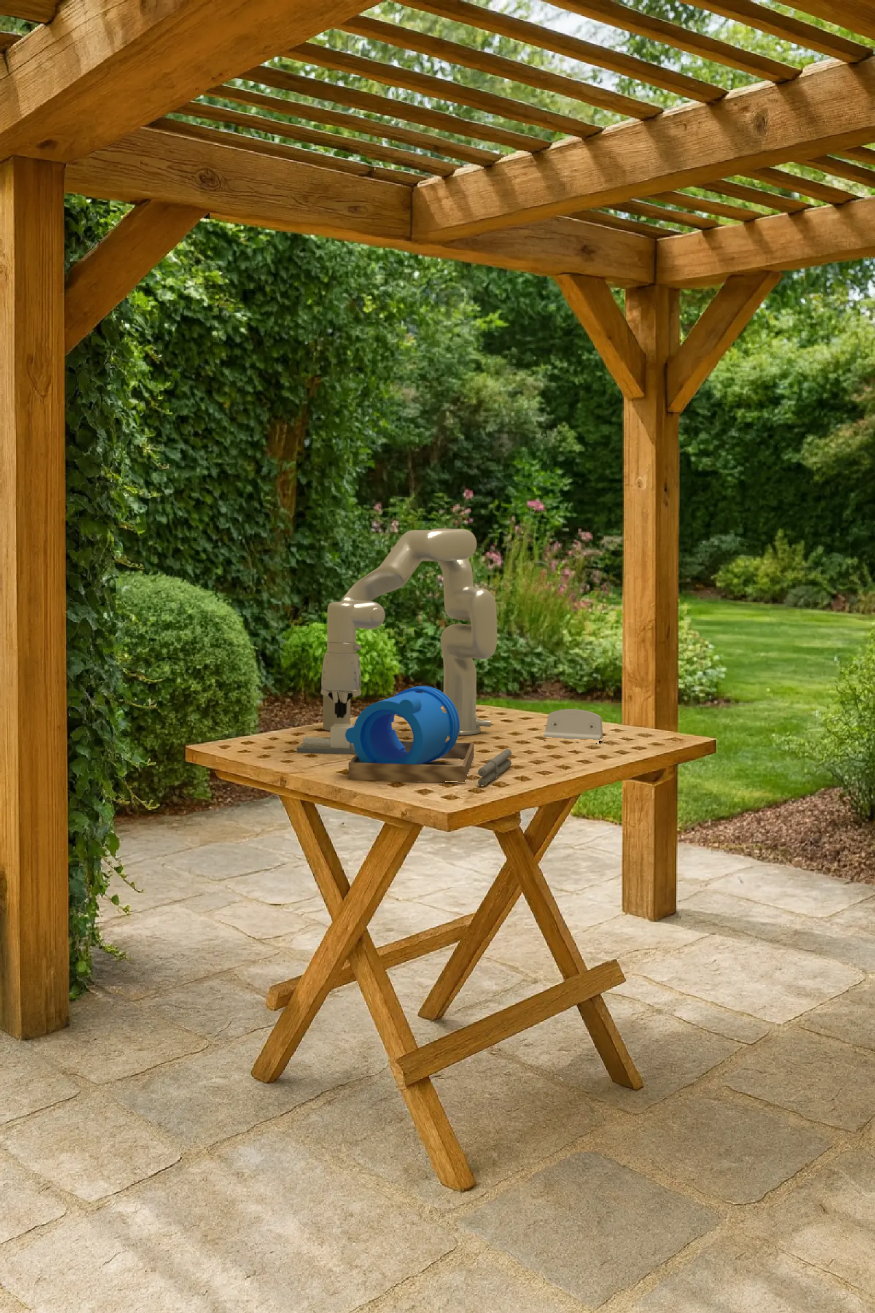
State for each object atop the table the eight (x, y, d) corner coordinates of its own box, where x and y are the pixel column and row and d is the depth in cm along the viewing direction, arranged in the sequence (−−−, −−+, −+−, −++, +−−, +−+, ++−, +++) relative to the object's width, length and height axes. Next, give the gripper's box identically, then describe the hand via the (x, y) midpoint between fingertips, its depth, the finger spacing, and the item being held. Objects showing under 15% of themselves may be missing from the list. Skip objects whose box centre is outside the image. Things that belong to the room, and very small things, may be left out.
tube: (433, 779, 310) (373, 736, 314) (476, 709, 304) (414, 667, 309) (397, 799, 287) (333, 752, 291) (443, 724, 281) (377, 678, 285)
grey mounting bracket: (541, 740, 341) (545, 706, 344) (545, 743, 346) (548, 709, 348) (600, 744, 336) (603, 709, 339) (603, 747, 341) (606, 712, 343)
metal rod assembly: (502, 767, 304) (502, 747, 303) (512, 768, 303) (513, 748, 303) (475, 788, 279) (475, 766, 279) (487, 789, 279) (487, 767, 278)
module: (353, 744, 326) (353, 724, 325) (349, 748, 319) (349, 728, 319) (334, 743, 326) (334, 723, 326) (330, 747, 320) (330, 727, 319)
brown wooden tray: (473, 757, 314) (473, 742, 314) (465, 783, 283) (465, 766, 283) (368, 754, 317) (368, 739, 317) (348, 779, 286) (348, 763, 285)
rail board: (384, 748, 327) (384, 736, 326) (379, 754, 317) (379, 742, 317) (304, 745, 329) (304, 734, 328) (296, 752, 319) (296, 740, 319)
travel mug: (355, 729, 357) (355, 668, 355) (340, 732, 350) (340, 671, 348) (332, 726, 361) (333, 666, 359) (317, 730, 354) (317, 669, 352)
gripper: (371, 648, 323) (370, 716, 325) (316, 646, 324) (315, 714, 326) (367, 650, 316) (366, 720, 317) (310, 649, 317) (310, 718, 319)
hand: (340, 717), depth 322 cm, fingers closed
